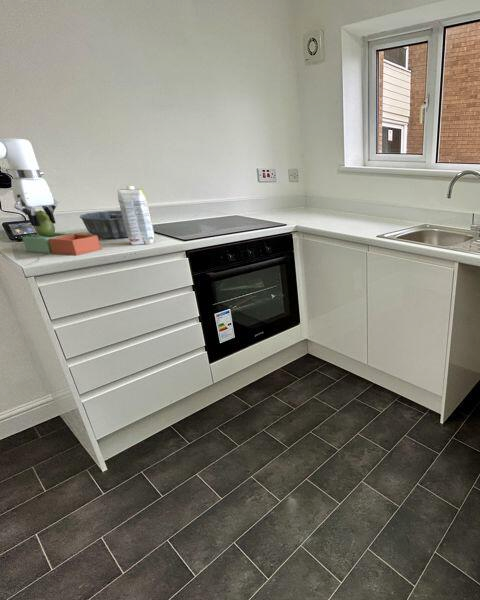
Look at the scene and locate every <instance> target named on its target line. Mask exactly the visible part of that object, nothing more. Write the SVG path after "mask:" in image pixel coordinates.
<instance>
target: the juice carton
mask: <svg viewBox="0 0 480 600" xmlns="http://www.w3.org/2000/svg"><path fill="white" fill-rule="evenodd" d="M117 200H118V205H119V209H120V211H121V213H122V217H123V220H124V224H125V228H126V232H127V236H128V237H127V238H128V240H129V243H130V244H131V245H132V246H135V245H136V246H137V245H152V244H153V243H154V240H155V231H154V226H153V221H152V218H151V213H150V209H149V203H148V201H147V200H148V199H147V196H146V194H145V191H144V190H143V188H135V186H133V185H126V188H120V189H118V190H117Z"/></svg>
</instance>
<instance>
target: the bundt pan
mask: <svg viewBox="0 0 480 600" xmlns="http://www.w3.org/2000/svg"><path fill="white" fill-rule="evenodd" d="M79 218H80V219H81V220H82V222H83V225H84V226H85V228H86V231H88V233H90V235H97V236H98V238H99V239H111V238H114V239H119V238H128V236H127V232H126V228H125V224H124V220H123V217H122V213H121V210H105V211H96V212H95V211H93V212H86V213H83V214H80V215H79Z"/></svg>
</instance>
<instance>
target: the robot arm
mask: <svg viewBox="0 0 480 600" xmlns="http://www.w3.org/2000/svg"><path fill="white" fill-rule="evenodd" d="M3 159H6V160H7V163H8V166H9V169H10V172H11V174H12V175H11V176H12V177H13V178H11V190H12V194H13V198H14V201H15V204H14V205H13V208H14V209H16V210H18V211H20V212H21V213H23V214H24V215H25V216H27V218H28V220H29V223H30V225H31V226H32V227H35V226H40V222H39V220H38V217H37V215H35V211H36V209H35V208H39V207H41V208H42V209H43V211H45V213H46V214H47V215H48V216H49V219H50V221H51V222H52V223H53V224H54V225H55V224H56V219H55V216H54V214H55V209H56V208H57V207H58V206H59V202H58V201H57V200H55V198H54V197H53V195H52V192H51V189H50V187H49V185H48V183H47V181H46V179H45V178H43V176H44V172H43V171H42V170H40V167H39V164H38V161H37V158H36V154H35V152H34V148H33V145H32V143H31V142H30V141H29V140H28V139H25V138H15V137H12V138H11V137H5V138H0V160H3Z"/></svg>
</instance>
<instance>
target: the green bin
mask: <svg viewBox="0 0 480 600" xmlns="http://www.w3.org/2000/svg"><path fill="white" fill-rule="evenodd" d="M67 235H73V233H65V232H55V233H54V234H53V235H52V236H49V237H44V236H40V235H39V234H38V233H37V234H33V235H26V236H21V239H22V242H23V244H24V247H25V250H26V252H29V253H40V254H41V253H44V254H54V253H53V251H52V248H51V245H50V242H49V239H51V238H56V237H62V236H67Z"/></svg>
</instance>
